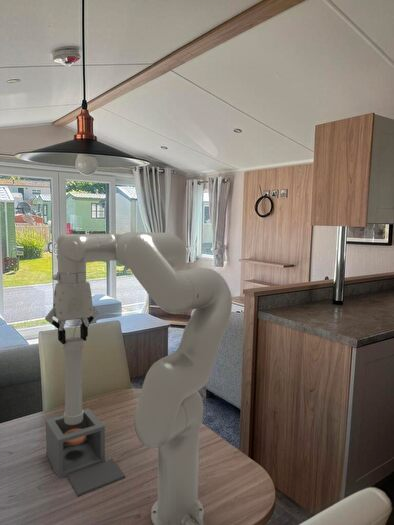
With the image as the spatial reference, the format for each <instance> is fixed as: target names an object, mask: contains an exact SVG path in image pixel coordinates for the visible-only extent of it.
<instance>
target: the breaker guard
mask: <svg viewBox="0 0 394 525" xmlns="http://www.w3.org/2000/svg"><path fill="white" fill-rule="evenodd" d="M82 410H83V411H84V414H83V420H82V422H81V423H79V424H76V425H68V424H66V423H65V422H64V414H62V415H59V416H53V417H51V418H46V419H45V439H46V440H45V441H46V442H45V444H46V456H47V459H48V461H49V462H50V464H51V466H52V468H53V471H54V472H55V474H56V476H57V478H58V479H60V480H61V479H62V478H65V477H67V475H69V474H71V473H74V472H77V471H80V470H82V469H85V468H88V467H91V466H94V465H96V464H99V463H102V462H105V461H106V455H105V453H106V450H105V449H106V443H105V441H106V436H105V434H106V433H105V429H106V426H105V425H104V424H103V422H101V420H100V419H99V418H98V417H97V416H96V415H95V413H94V411H92V410H91V409H90V408H89V407H88V408H82ZM77 428H79V429H81V430H78V431H74V432H71V433H68V434H64V433H65V432H67V431H69V430H71V429H77ZM82 436H86V440H85V441H84V442H83V443H81V444H79V445H78V446H71V445H66V444H65V443H64V442H66V441H70V440H73V439H76V438H79V437H82Z"/></svg>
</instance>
